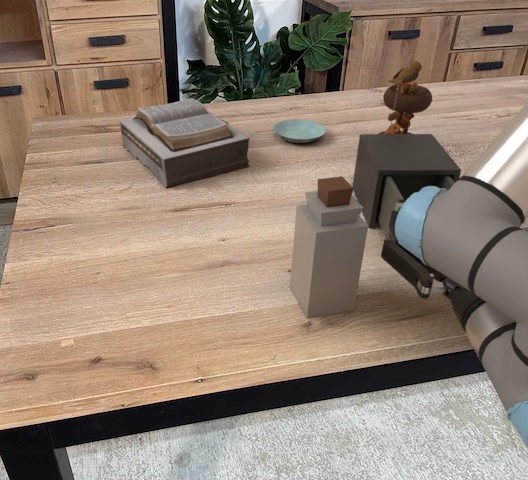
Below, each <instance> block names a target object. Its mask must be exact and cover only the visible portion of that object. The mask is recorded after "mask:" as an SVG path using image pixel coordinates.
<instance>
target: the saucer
mask: <svg viewBox="0 0 528 480" xmlns="http://www.w3.org/2000/svg"><path fill="white" fill-rule="evenodd" d="M272 129H273V131H274V132H275V134H276V135H277V136H278V137H280V138H281V139H282V140H285V141H287V142H290V143H293V144H306V143H311V142H314V141H316V140H318V139H319V138H321V137H322V136H323V135H325V133H326V132H327V130H326V128H325V126H324V125H322V124H321V123H319V122H316V121H314V120H308V119H300V118H299V119H297V118H294V119H285V120H281V121H278V122H276V123H274V125H273V127H272Z"/></svg>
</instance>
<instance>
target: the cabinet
mask: <svg viewBox="0 0 528 480" xmlns="http://www.w3.org/2000/svg"><path fill="white" fill-rule="evenodd" d="M461 174H462V169H461V168H460V167H459V165H458V164H457V163H456V161H455V160H454V159H453V158H452V156H451V155H450V154H449V153H448V152H447V150H446V149H445V148H444V147H443V146H442V145H441V143H440V142H439V141H438V140H437V139H436V137H435V136H434V135H433V134H432V133H412V134H378V133H367V134H365V133H364V134H363V133H360V134H359V138H358V145H357V151H356V159H355V165H354V172H353V180H352V185H351V186H352V187H353V193H354V195H355V197H356V198H355V199H356V200H357V201H358V202H359V203H360V205H361V206H362V207H363V209H362V211H361V213H362V216H363V217H364V221H365V222H366V224H367V225H368V229H382V228H381V226H380V224H379V222H378V219H377V217H376V215H377V209H378V203H379V198H380V192H381V186H382V181H383V175H449V176H450V177H451V178H452V179H453V181H454V182H455V183H456V182H457V181H458V179H459V178H460V177H461Z"/></svg>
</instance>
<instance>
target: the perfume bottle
mask: <svg viewBox="0 0 528 480" xmlns="http://www.w3.org/2000/svg"><path fill="white" fill-rule="evenodd" d="M352 186H353V185H352V184H351V183H349V182H348V181H347V180H346V178H344V176H341V175H340V176H333V177H332V176H331V177H326V178H318V179H317V190H313V191H305V192H304V196H305V200H306V204H300V205H296V211H295V221H294V234H293V246H292V258H291V269H290V279H289V280H290V282H289V288H290V290H291V292H292V294H293V295H294V297H295V299H296V301H297V303H298V305H299V306H300V308H301V310H302V311H303V313H304V315H305V317H306V319H308V318H315V317H321V316H327V315H332V314H338V313H343V312H350V311H355V307H356V306H355V305H356V302H357V301H356V300H357V294H358V288H359V282H360V276H361V270H362V265H363V259H364V253H365V248H366V243H367V236H368V230H369V227H368V225H367V222H366V220H365V219H363V218H362V216H360V215H361V213H362V209H363V207H362V206H361V205H360V203H359V202H358V200H357V198H355V197H354V196H353V193H354V190H353V187H352Z"/></svg>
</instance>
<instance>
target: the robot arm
mask: <svg viewBox="0 0 528 480" xmlns="http://www.w3.org/2000/svg"><path fill="white" fill-rule="evenodd" d="M527 218H528V101H527V102H526V103H525V105H523V107H521V109H520V110H519V111H518V112H517V113H516V115H514V117H513V118H512V119H511V120H510V121H509V122H508V123H507V124H506V126H505V127H504V128H503V129H502V130H501V131H500V133H499V134H497V136H496V137H495V138H494V140H492V141H491V143H490V144H489V145H488V146H487V147H486V148H485V149H484V150H483V152H482V153H481V154H480V155H479V156H478V157H477V158H476V159H475V160H474V162H473V163H472V164H471V165H470V166H469V168H468V169H467V170H466V171H465V172H464V173H463V174H462V175H461V176H460V177H459V179H458V181H457V182H456V183H455V184H454V185H453V186H452V187H451V188H450V189H449V190H446V189H445V188H438V187H435V186H427V187H424V188H422V189H421V190H420V191H419V192H416V193H413V194H412V195H411V196H410V197H409V198H408V199H407V200H406V201H405V203H404V204H403V206H402V207H401V209H400V211H399V213H398V212H397V211H392V213H391V218H390V223H389V228H390V229H389V234H388V239H386V238H385V239H384V240H383V242H382V247H381V252H380V258H382V259H383V260H384V262H386V263H387V264H388V265H389V266H390V267H391V268H392V269H393V270H395V271H396V272H397V273H398V274H399V275H400V276H401V277H402V278H403V279H404V280H406V281H407V282H408V283H409V284H410V285H411V286H412V287H413V288H414V290H415V291H416V293H417V295H418V297H419V298H420V299H424V300H427V299H429V298H430V294H441V295H443V296H444V297H445V298H446V299H448V300H449V301H450V303H451V308H452V310H453V313H454V315H455V317H456V318H457V321H458V323H459V325H460V326H461V328H462V331H463V332H464V333H465V335H466V337H467V339H468V341H469V343H470V345H471V347H472V348H473V350H474V353H475V354H476V357H477V358H478V360H479V362H480V364H481V365H482V368H483V369H484V371H485V372H486V375H487V377H488V378H489V381H490V383H491V385H492V386H493V389H494V390H495V393H496V395H497V397H498V399H499V402H500V403H501V405H502V407H503V410H504V412H505V415H506V418H507V419H508V421H509V422H511V424H512V425H513V427H514V429H515V430H516V432H517V433H518V435H519V437H520V438H521V440H522V441H523V443H524V444H525V445H526V447H528V231H527V230H525V229H523V228H521V226H522V225H523V224H524V223H525V221H526V220H527Z"/></svg>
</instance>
